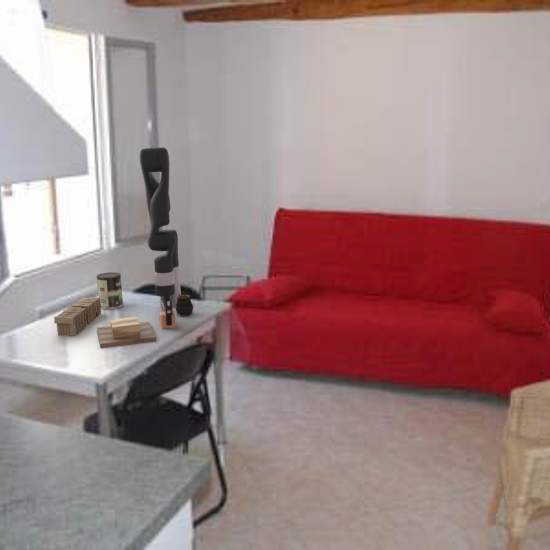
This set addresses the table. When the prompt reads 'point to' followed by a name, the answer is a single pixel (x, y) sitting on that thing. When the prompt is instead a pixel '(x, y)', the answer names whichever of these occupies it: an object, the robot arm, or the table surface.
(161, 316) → the terracotta cube
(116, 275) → the coffee can
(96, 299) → the brown long block
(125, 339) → the walnut base
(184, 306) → the mate gourd
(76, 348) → the table surface
